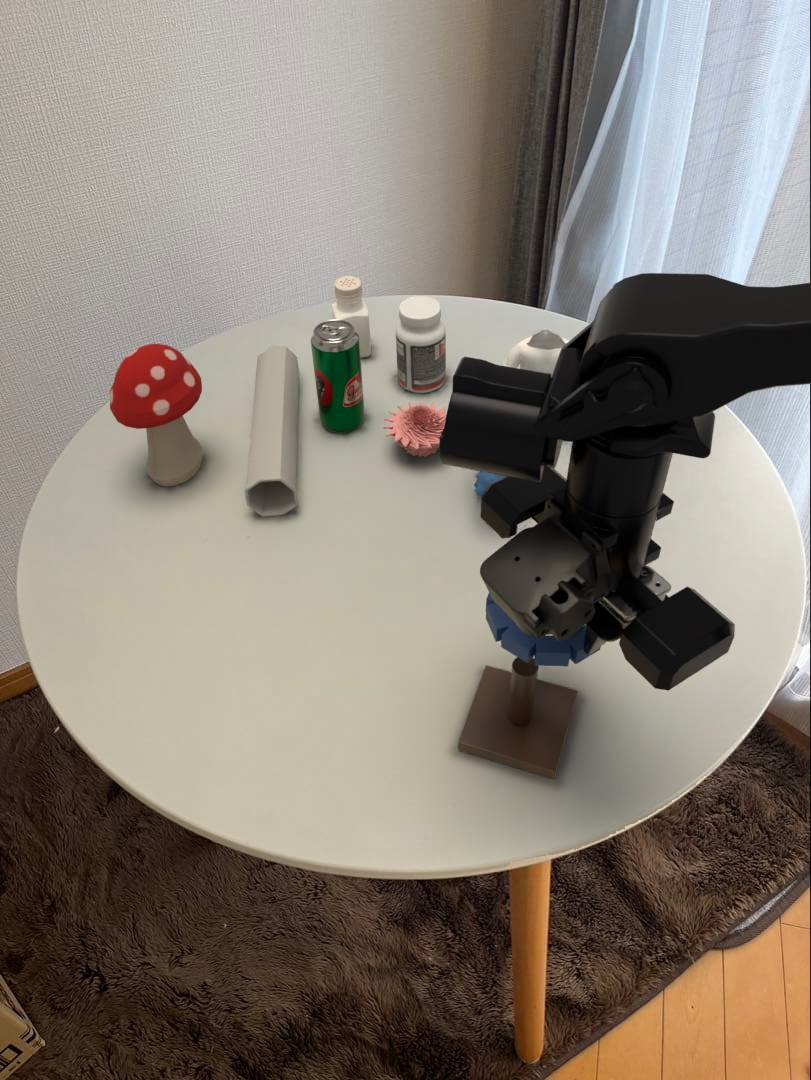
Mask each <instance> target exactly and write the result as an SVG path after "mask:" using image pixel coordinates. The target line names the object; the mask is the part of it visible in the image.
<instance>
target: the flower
mask: <svg viewBox="0 0 811 1080" xmlns="http://www.w3.org/2000/svg"><path fill="white" fill-rule="evenodd" d="M408 405H409V407H404V406H400V405H397V409H399V411H396V412H393V411H388V414H389V415H393V416H391V417H388V418H383V421H384V422H388V423H389V422H390V423H389V424H387V425H385V426H382V429H383V430H386V429H387V430H391V431H390V432H389V433H387V434H386V435H385V437H394V439H393V444H396V443H399V445H398V446H399V447H400V448H402V450H405V451H406V454H410V456H413V457H415V456H418V457H419V458H422V457H425V458H427V457H428V456H430V455H431V454H436V453H437V451H439V442H440V436H441V433H442V431H443V429H444V426H445V420H446V415H447V414H446V406H443V407H441V408H439V409H438V408H437V406H436V403H435V402H432V404H431V405H430V406H428V405H426V403H424V402H423V401H420V404H418V405H417V404H413V403H411V402H408Z"/></svg>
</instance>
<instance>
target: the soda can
mask: <svg viewBox="0 0 811 1080" xmlns="http://www.w3.org/2000/svg"><path fill="white" fill-rule="evenodd" d="M310 347H311V354H312V363H313V373H314V380H315V388H316V396H317V404H318V412H319V421H320V423H321V424H322V426H323V427H325V428H326V429H327V430H329V431H331V432H334V433H349V432H352V431H354V430H356V429H357V428H359V427H360V426H361V424H363V423H364V421H365V417H366V415H365V400H364V386H363V373H362V360H361V359H362V358H360V346H359V336H358V334H357V333H356V332H355V329H354V326H353V325H352V324H351V323H349V322H347V321H345V320H339V319H333V318H332V319H327V320H324V321H322V322H319V323H318V324H317V325H315V327H314V329H313V330H312V336H311V338H310Z"/></svg>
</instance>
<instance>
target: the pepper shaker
mask: <svg viewBox="0 0 811 1080" xmlns="http://www.w3.org/2000/svg"><path fill="white" fill-rule="evenodd" d="M333 288H334V300H336V301H335V302H333V303H332V304H331V307H330V308H331V317H332V320H333V319H339V320H345V321H347V322H349V323H351V324H352V325H353V326H354V329H355V332H356V333H357V334H358V336H359V346H360V359H362V358H368V357H370V356H371V354H372V344H371V343H372V342H371V327H370V313H369V309H368V307H367V304H366V302H365V300H363V287H362V280H361V279H360V278H359V277H357V276H353V275H344V276H340V277H338V278H337V279H335V281H334V284H333Z"/></svg>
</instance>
